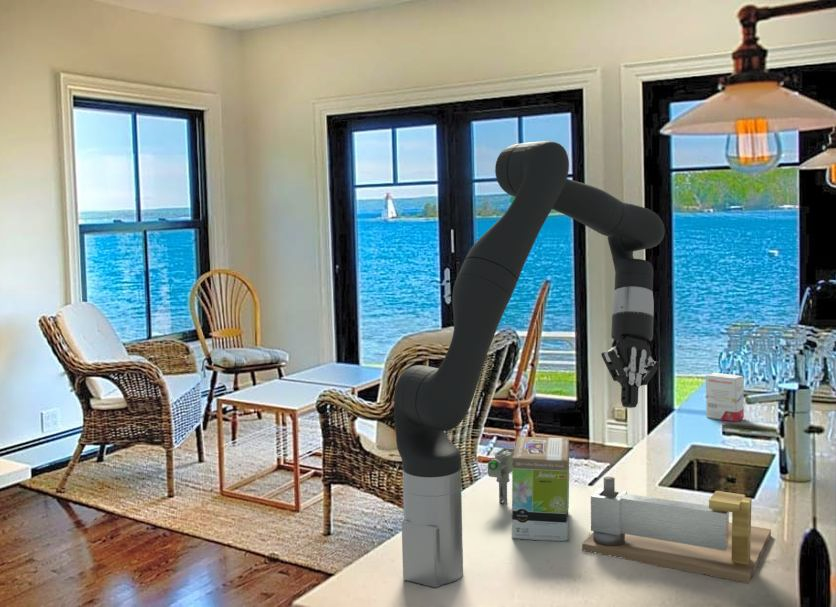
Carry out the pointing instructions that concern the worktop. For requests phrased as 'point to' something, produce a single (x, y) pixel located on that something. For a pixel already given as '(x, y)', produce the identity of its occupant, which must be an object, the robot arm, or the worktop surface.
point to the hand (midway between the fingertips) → (629, 407)
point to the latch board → (718, 563)
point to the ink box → (724, 397)
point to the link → (659, 519)
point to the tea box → (540, 488)
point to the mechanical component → (502, 470)
